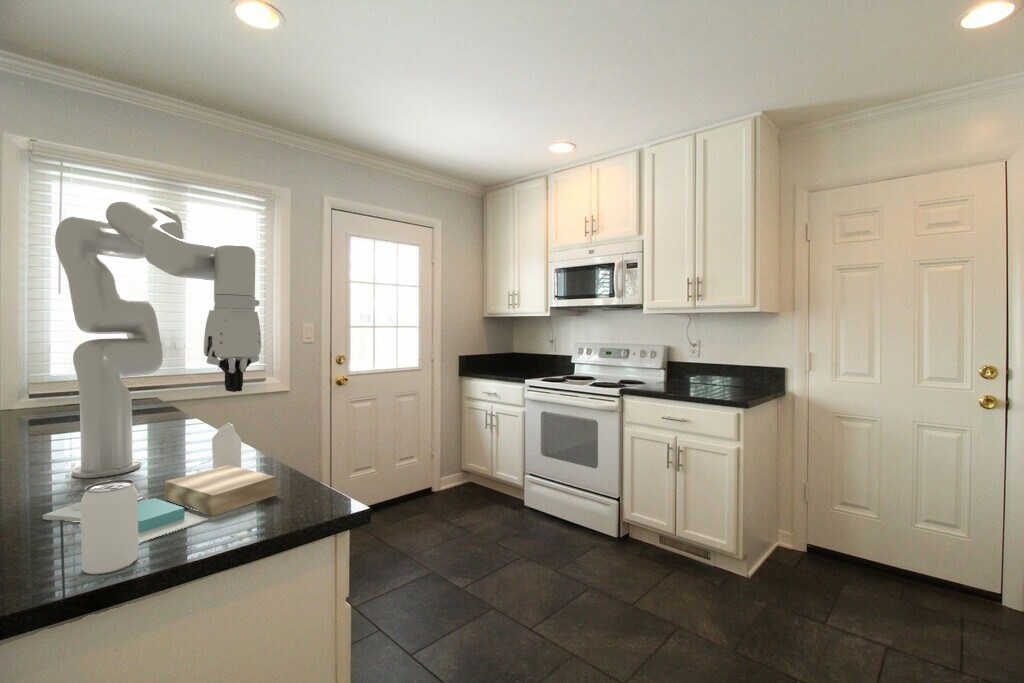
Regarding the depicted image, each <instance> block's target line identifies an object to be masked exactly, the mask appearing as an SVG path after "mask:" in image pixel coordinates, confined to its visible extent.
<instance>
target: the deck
mask: <svg viewBox="0 0 1024 683" xmlns="http://www.w3.org/2000/svg"><path fill="white" fill-rule="evenodd" d="M164 481H165V482H164V488H165V489H164V491H165V492H164V494H165V496H164V498H165V499H166V500H169V501H172V502H176V503H179V504H181V505H184V506H187V507H189V508H192V509H195V510H198V511H200V512H203V513H202V514H204V513H206V514H205V515H207V514H208V515H207V516H210V515H211V516H210V517H215V515H216V516H218V514H219V515H222V514H225V513H228V512H230V511H234V510H236V509H239V508H242V506H243V507H246V506H248V504H249V505H251V503H252V504H254V503H257V502H260V501H262V500H266V499H268V498H272V497H275V496H276V476H275V475H271V474H268V473H264V472H258V471H255V470H251V469H246V468H242V467H241V468H238V467H234V466H230V465H227V466H223V467H219V468H215V469H213V468H212V469H208V470H204V471H201V472H197V473H193V474H188V475H185V476H181V477H177V478H173V479H168V480H164ZM245 505H246V506H245ZM200 512H199V513H200ZM221 513H222V514H221Z"/></svg>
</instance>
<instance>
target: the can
mask: <svg viewBox="0 0 1024 683" xmlns="http://www.w3.org/2000/svg"><path fill="white" fill-rule="evenodd" d="M134 484H135V481H134V480H133V479H130V478H129V479H127V478H121V479H119V478H118V479H109V480H105V481H101V482H100V481H99V482H96V483H93V484H90V485H88V486H86V487H85V488H84V491H85V492H84V494H83V496H82V498H81V500H80V502H81V523H80V537H81V538H80V539H81V540H80V541H81V542H80V543H81V570H82V571H83V573H85V574H87V575H91V576H99V574H102V575H107V573H108V574H111V572H112V573H115V571H116V572H118V570H119V571H122V570H123V569H126V568H128V567H129V566H128V565H130V564H132V563H133V562H134V561H135V562H136V561H137V559H138V558H139V544H138V502H139V501H138V496H137V493H138V490H137V488H136V487H135V485H134ZM135 562H134V563H135ZM134 563H133V564H134ZM133 564H132V565H133ZM127 566H128V567H127ZM130 566H131V565H130ZM125 567H126V568H125ZM121 569H122V570H121ZM105 573H106V574H105Z"/></svg>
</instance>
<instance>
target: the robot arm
mask: <svg viewBox="0 0 1024 683" xmlns="http://www.w3.org/2000/svg"><path fill="white" fill-rule="evenodd" d="M184 237H185V236H184V230H183V223H182V220H181V219H180V217H179V215H178V213H176V212H175V211H173V210H172V209H170V208H167V207H165V206H160V205H155V204H151V203H147V202H142V201H138V200H133V199H119V200H116V201H113V202H112V203H110V205H108V207H107V208H106V211H105V219H104V218H98V217H91V216H80V215H78V216H77V215H76V216H70V217H66V218H64V219H62V220H61V222H59V224H58V226H57V227H56V230H55V236H54V246H55V250H56V254H57V257H58V259H59V262H60V263H61V266H62V268H63V270H64V272H65V275H66V277H67V281H68V288H69V294H70V299H71V305H72V310H73V316H74V320H75V323H76V325H77V327H78V329H79V330H81V331H82V332H84V333H87V334H94V335H95V334H96V335H117V334H118V335H125V334H126V337H127V338H119V337H118V338H116V337H115V338H95V339H90V340H86V341H84V342H82V343H80V344H79V345H77V347H76V348H75V349H74V351H73V353H72V354H73V356H72V363H73V366H74V367H73V368H74V370H75V374H76V379H77V384H78V390H79V391H78V392H79V393H78V394H79V419H80V420H79V422H80V423H79V424H80V429H79V430H80V465H79V466H76V467H74V468H73V469H72V470H71V475H72V476H73V477H75V478H79V479H80V478H81V479H94V478H104V477H105V478H106V477H111V476H116V475H120V474H121V475H122V474H126V473H129V472H132V471H135V470H137V469H139V468H140V467H141V460H139V459H136V458H133V409H132V408H133V405H132V403H133V402H132V401H133V400H132V394H131V392H130V390H129V389H128V387H127V386H126V385H125V383H124V382H123V381H122V380H121V379H122V378H128V377H129V378H130V377H140V376H141V377H142V376H147V375H152V374H154V373H157V371H159V370H160V369H161V367H162V365H163V361H164V360H163V359H164V355H163V354H164V352H163V347H162V342H161V335H160V331H159V329H160V328H159V324H158V319H157V315H156V314H157V313H156V311H155V308H154V307H153V306H152V304H151V303H150V302H149V301H148V300H146V299H145V298H143V297H139V296H133V295H120V294H119V293H118V290H117V286H116V280H115V277H114V275H113V273H112V272H111V270H110V269H109V267H108V266H107V264H105V263H104V262H103V261H102V260H100V258H99V257H98V255H99V256H108V257H115V258H123V259H131V260H140V259H145V260H146V261H147V262H148V263H149V264H151V265H152V266H153V267H155V268H157V269H159V270H160V271H162V272H164V273H166V274H168V275H171V276H174V277H176V278H177V277H178V278H185V279H196V280H205V281H213V309H212V310H211V309H209V310H208V314H207V319H206V324H205V330H204V339H203V355H204V356H206V357H207V358H206V359H207V360H206V364H209V365H214V366H218V367H219V368H220V369H221V372H223V373H224V387H225V391H226V392H232V393H233V392H234V393H236V392H242V391H243V386H244V373H246V371H247V368H248V367H249V366H250V365H251V364H254V363H256V362H259V361H260V354H261V350H262V335H261V325H260V324H261V323H260V318H259V315H258V314H259V313H258V311H256V307H259V306H260V300H259V299H256V252H255V249H253V247H250V246H248V245H243V244H235V243H234V244H233V243H221V244H218V245H211V244H208V243H203V242H195V241H190V240H184Z"/></svg>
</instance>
